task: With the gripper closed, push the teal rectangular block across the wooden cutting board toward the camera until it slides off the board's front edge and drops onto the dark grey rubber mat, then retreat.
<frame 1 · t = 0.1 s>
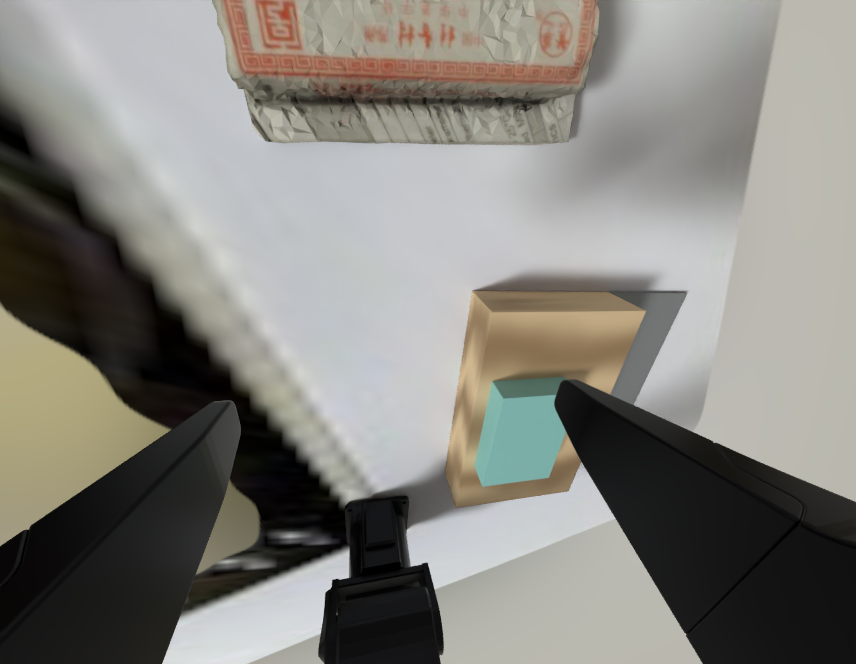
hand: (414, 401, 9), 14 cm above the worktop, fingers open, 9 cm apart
mat: (607, 385, 32), on the worktop
board: (517, 391, 29), on the worktop
packaged product: (417, 37, 17), on the worktop
teal rectangular block: (516, 423, 25), point 4 cm above the worktop, touching board
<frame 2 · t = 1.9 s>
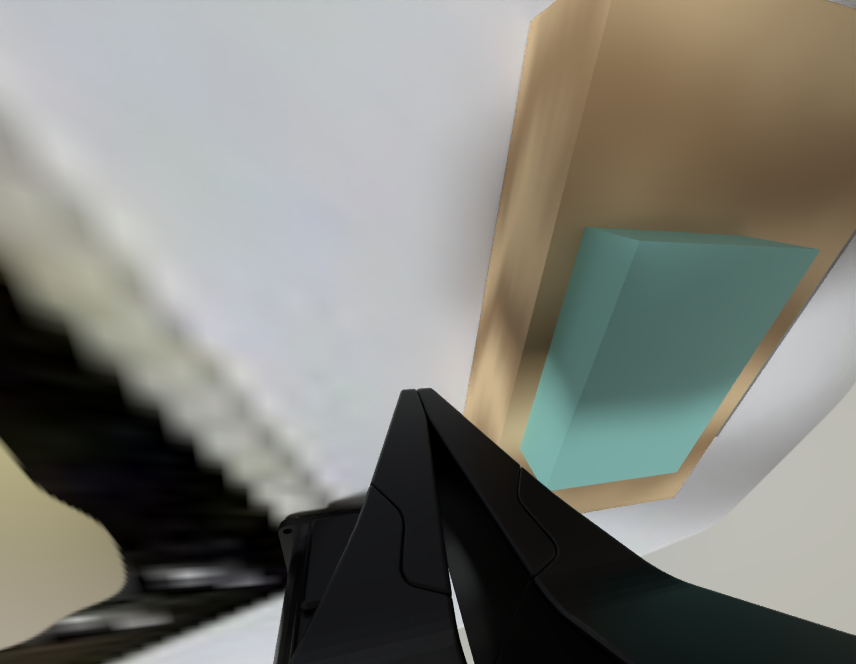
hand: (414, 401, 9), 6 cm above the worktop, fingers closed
mat: (745, 310, 18), on the worktop
board: (593, 311, 16), on the worktop
teal rectangular block: (617, 355, 12), point 4 cm above the worktop, touching board
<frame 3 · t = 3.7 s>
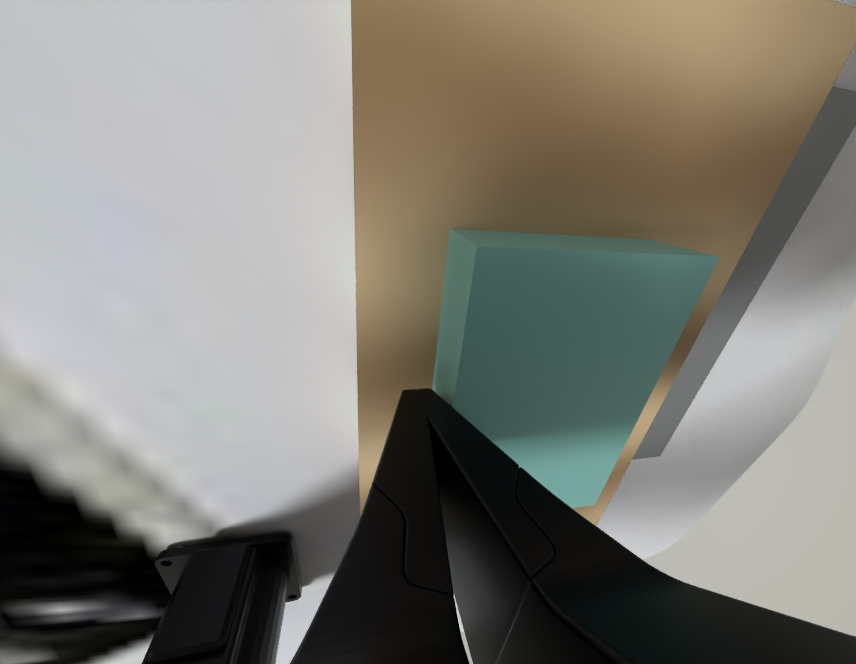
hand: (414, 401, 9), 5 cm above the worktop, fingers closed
mat: (673, 321, 16), on the worktop
board: (494, 323, 14), on the worktop
teal rectangular block: (521, 373, 10), point 4 cm above the worktop, touching gripper
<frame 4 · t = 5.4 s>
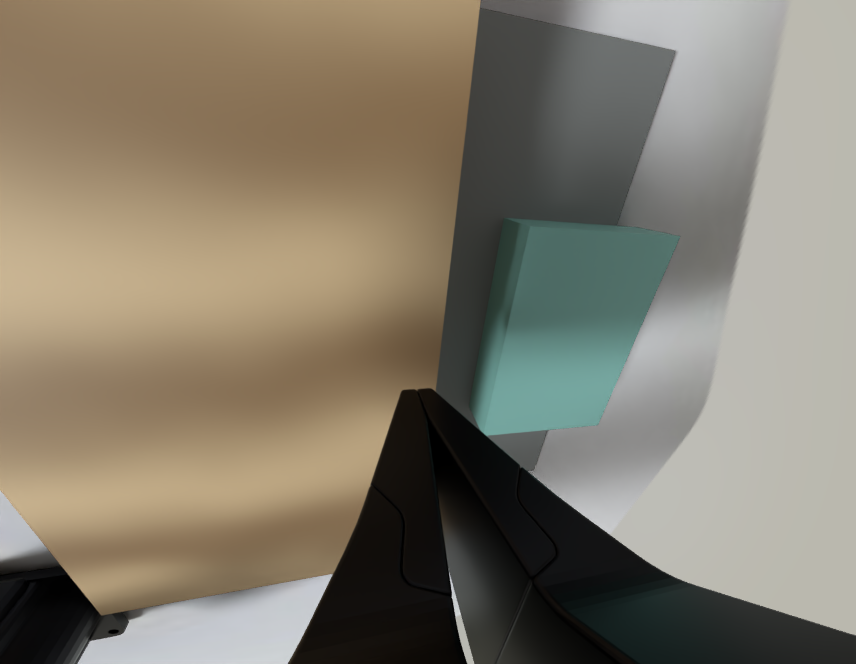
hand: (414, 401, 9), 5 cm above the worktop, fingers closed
mat: (502, 322, 14), on the worktop
board: (261, 326, 12), on the worktop
teal rectangular block: (571, 346, 13), point 2 cm above the worktop, tilted 180°, touching mat
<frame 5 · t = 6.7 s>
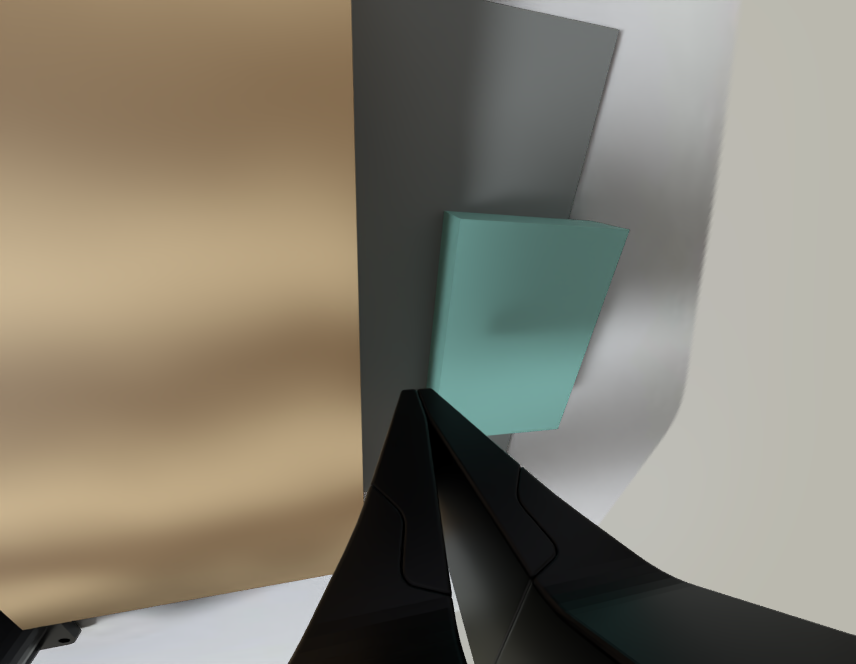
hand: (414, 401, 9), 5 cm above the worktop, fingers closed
mat: (453, 322, 13), on the worktop
board: (190, 326, 11), on the worktop
teal rectangular block: (519, 347, 12), point 2 cm above the worktop, tilted 180°, touching mat
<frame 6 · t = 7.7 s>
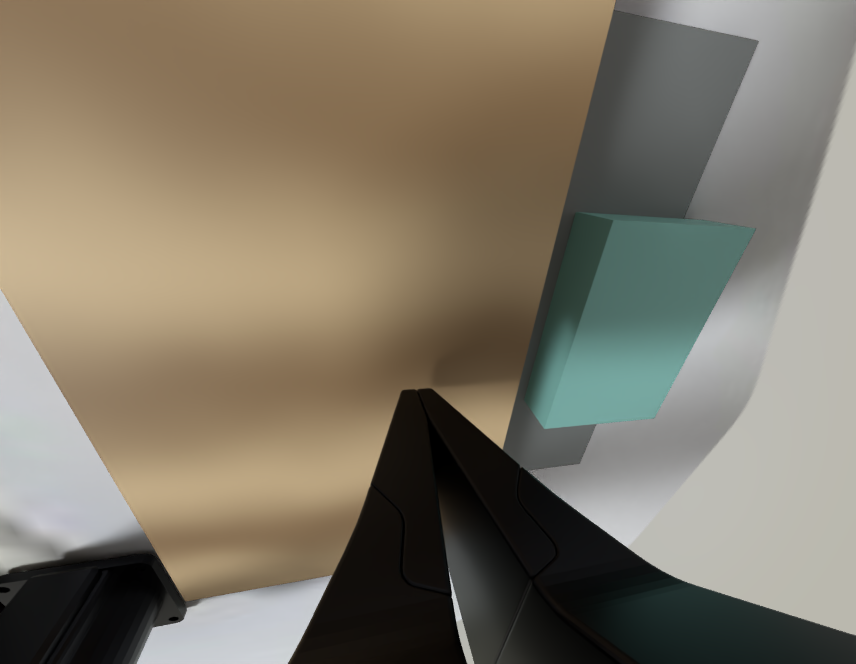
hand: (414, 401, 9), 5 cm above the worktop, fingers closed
mat: (562, 316, 14), on the worktop
board: (335, 321, 12), on the worktop
teal rectangular block: (638, 340, 13), point 2 cm above the worktop, tilted 180°, touching mat
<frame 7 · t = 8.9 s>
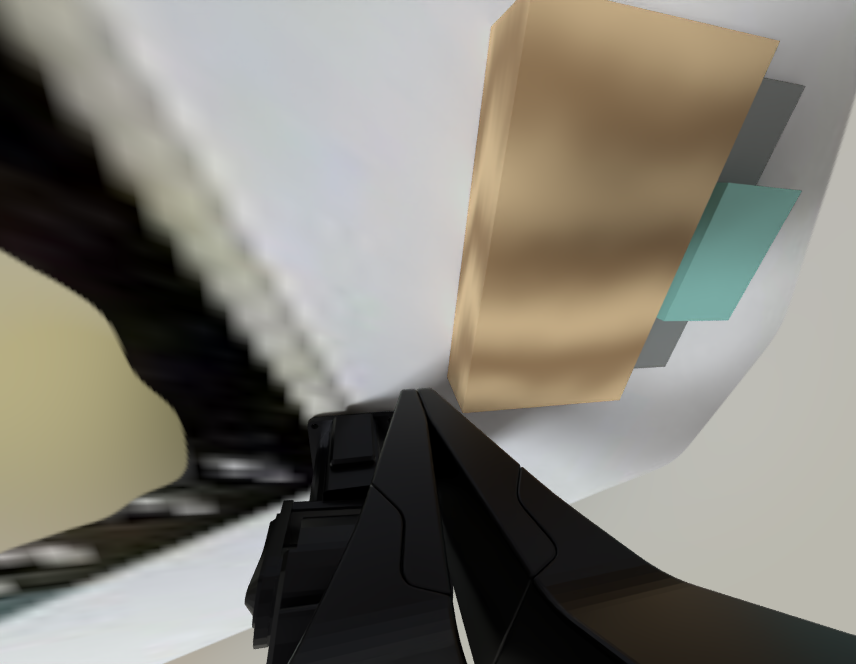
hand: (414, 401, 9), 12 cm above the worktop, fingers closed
mat: (674, 251, 23), on the worktop
board: (551, 246, 20), on the worktop
teal rectangular block: (728, 260, 21), point 2 cm above the worktop, tilted 180°, touching mat
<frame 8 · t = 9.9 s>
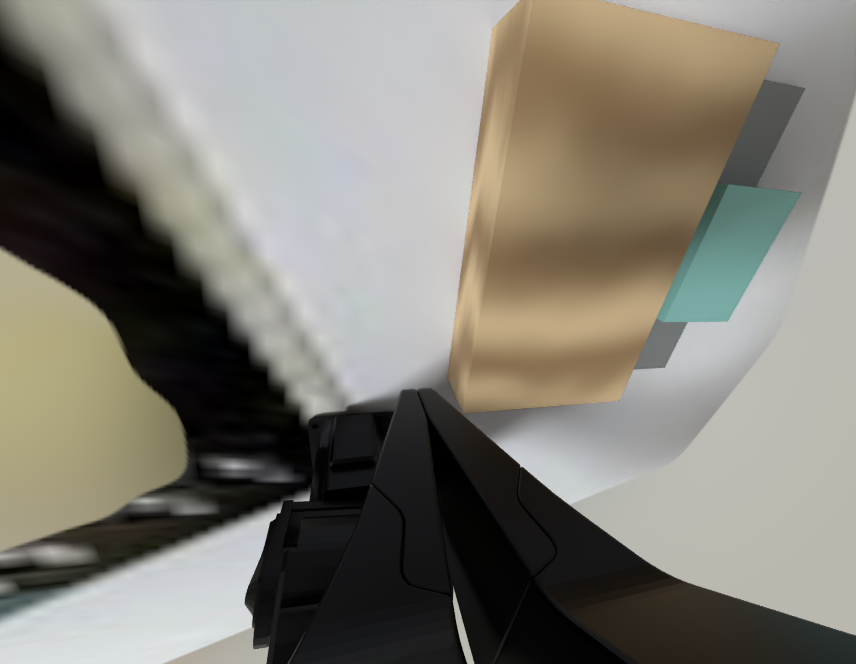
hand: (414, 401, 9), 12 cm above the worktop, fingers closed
mat: (674, 252, 23), on the worktop
board: (551, 247, 20), on the worktop
teal rectangular block: (728, 261, 21), point 2 cm above the worktop, tilted 180°, touching mat
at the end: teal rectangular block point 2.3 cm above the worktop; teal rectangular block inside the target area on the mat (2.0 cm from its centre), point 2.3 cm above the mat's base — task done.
